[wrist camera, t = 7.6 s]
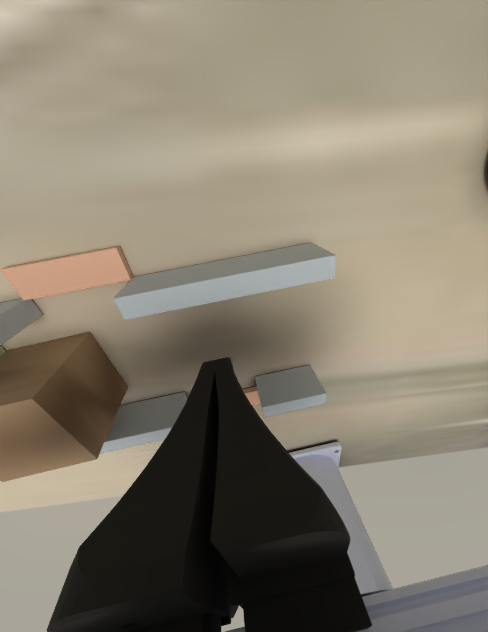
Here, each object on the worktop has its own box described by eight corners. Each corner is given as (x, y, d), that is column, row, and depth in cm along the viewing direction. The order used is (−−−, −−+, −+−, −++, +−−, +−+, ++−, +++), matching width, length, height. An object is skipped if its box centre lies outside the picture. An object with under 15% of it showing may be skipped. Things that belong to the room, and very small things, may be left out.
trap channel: (309, 388, 16) (324, 417, 14) (74, 439, 16) (52, 478, 14) (311, 210, 10) (338, 214, 8) (-86, 284, 9) (-175, 311, 7)
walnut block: (128, 385, 14) (97, 459, 10) (60, 401, 14) (2, 482, 10) (90, 330, 12) (31, 398, 8) (9, 349, 12) (-92, 427, 8)
